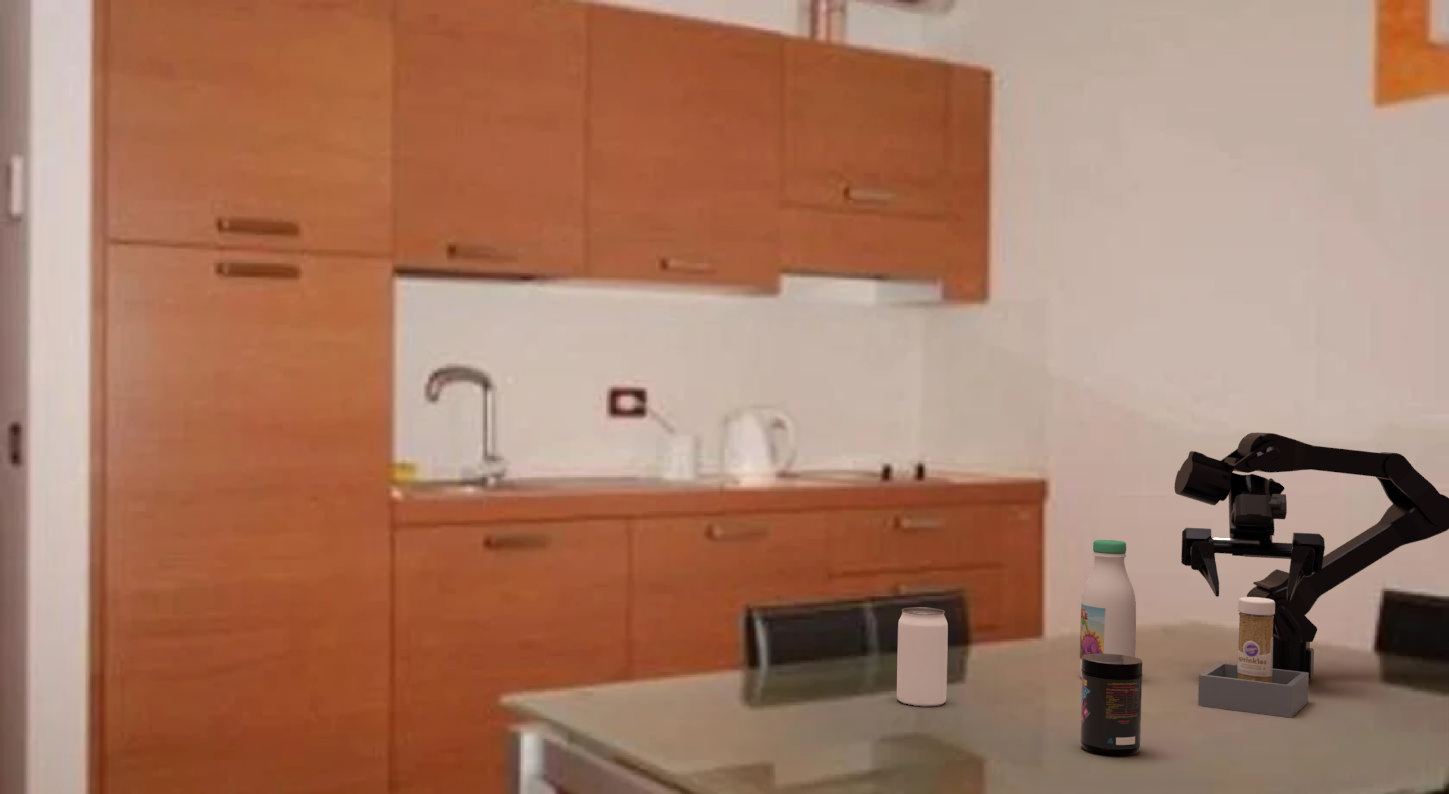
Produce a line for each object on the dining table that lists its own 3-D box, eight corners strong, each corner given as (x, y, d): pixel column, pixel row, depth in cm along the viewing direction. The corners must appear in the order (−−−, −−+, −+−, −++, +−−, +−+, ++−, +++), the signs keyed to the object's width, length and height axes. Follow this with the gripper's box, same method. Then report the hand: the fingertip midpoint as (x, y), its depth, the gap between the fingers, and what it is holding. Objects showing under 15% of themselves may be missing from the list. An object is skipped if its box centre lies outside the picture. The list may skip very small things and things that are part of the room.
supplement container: (1114, 741, 161) (1116, 652, 161) (1153, 755, 155) (1155, 662, 155) (1067, 745, 159) (1069, 655, 159) (1105, 760, 153) (1107, 665, 153)
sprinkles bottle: (1236, 700, 183) (1238, 599, 183) (1236, 694, 187) (1238, 595, 187) (1273, 704, 181) (1275, 602, 181) (1272, 697, 185) (1274, 597, 185)
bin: (1198, 705, 182) (1198, 675, 182) (1219, 691, 192) (1219, 662, 192) (1291, 717, 176) (1292, 686, 176) (1308, 702, 186) (1308, 672, 186)
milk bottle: (1129, 675, 202) (1131, 539, 202) (1139, 686, 194) (1142, 544, 194) (1075, 673, 203) (1078, 537, 203) (1084, 683, 195) (1086, 542, 195)
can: (945, 709, 177) (947, 615, 177) (894, 705, 178) (896, 612, 178) (947, 698, 183) (949, 608, 183) (898, 695, 184) (900, 605, 184)
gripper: (1183, 471, 197) (1182, 555, 187) (1324, 476, 191) (1332, 563, 181) (1181, 522, 205) (1181, 606, 194) (1317, 528, 199) (1324, 615, 188)
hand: (1253, 596), depth 189 cm, fingers open, 9 cm apart
